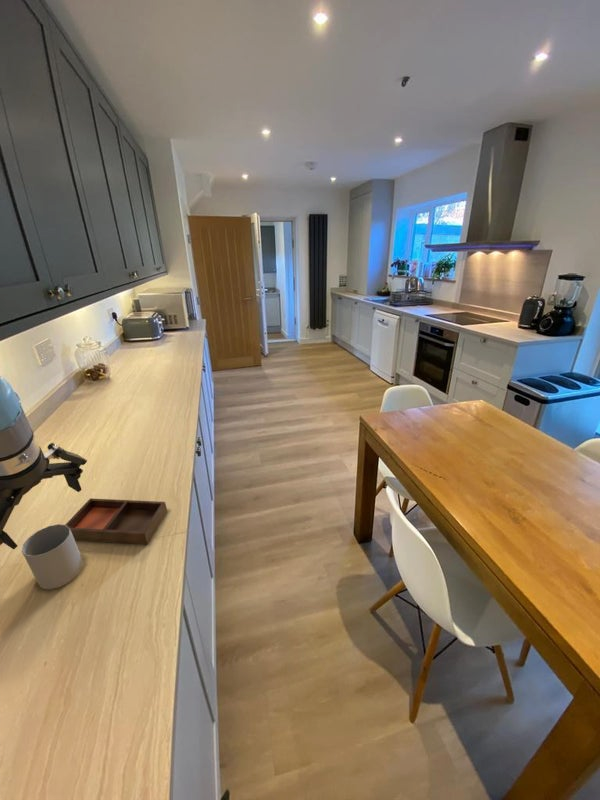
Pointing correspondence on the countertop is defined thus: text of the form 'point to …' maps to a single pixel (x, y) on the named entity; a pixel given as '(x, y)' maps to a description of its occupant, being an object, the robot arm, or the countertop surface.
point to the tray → (117, 521)
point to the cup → (53, 556)
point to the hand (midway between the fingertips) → (45, 513)
